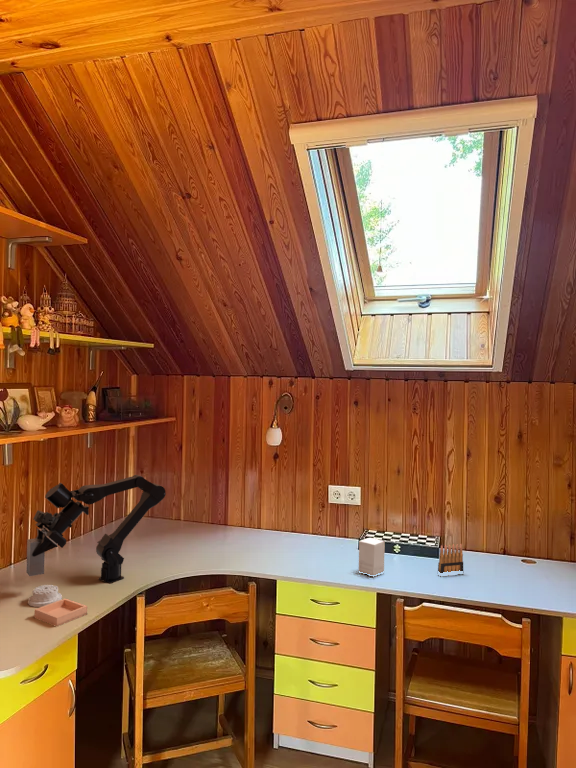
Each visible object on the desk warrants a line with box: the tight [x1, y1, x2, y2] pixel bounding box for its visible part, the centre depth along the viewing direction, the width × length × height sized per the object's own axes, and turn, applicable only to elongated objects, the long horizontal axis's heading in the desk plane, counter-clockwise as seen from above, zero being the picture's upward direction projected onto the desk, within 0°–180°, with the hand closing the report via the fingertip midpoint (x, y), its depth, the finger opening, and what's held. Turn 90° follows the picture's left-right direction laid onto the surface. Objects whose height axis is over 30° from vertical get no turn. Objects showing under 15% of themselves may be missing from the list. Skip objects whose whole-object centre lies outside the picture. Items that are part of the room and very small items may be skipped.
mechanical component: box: [27, 584, 63, 608], centre depth 179 cm, size 10×4×10 cm
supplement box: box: [358, 537, 386, 575], centre depth 216 cm, size 7×7×13 cm
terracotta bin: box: [34, 598, 88, 627], centre depth 168 cm, size 11×11×2 cm
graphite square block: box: [26, 537, 46, 577], centre depth 185 cm, size 4×4×11 cm
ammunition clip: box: [437, 543, 464, 573], centre depth 216 cm, size 11×2×12 cm, turn 110°
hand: (31, 553), depth 184 cm, fingers closed on graphite square block, 4 cm apart
